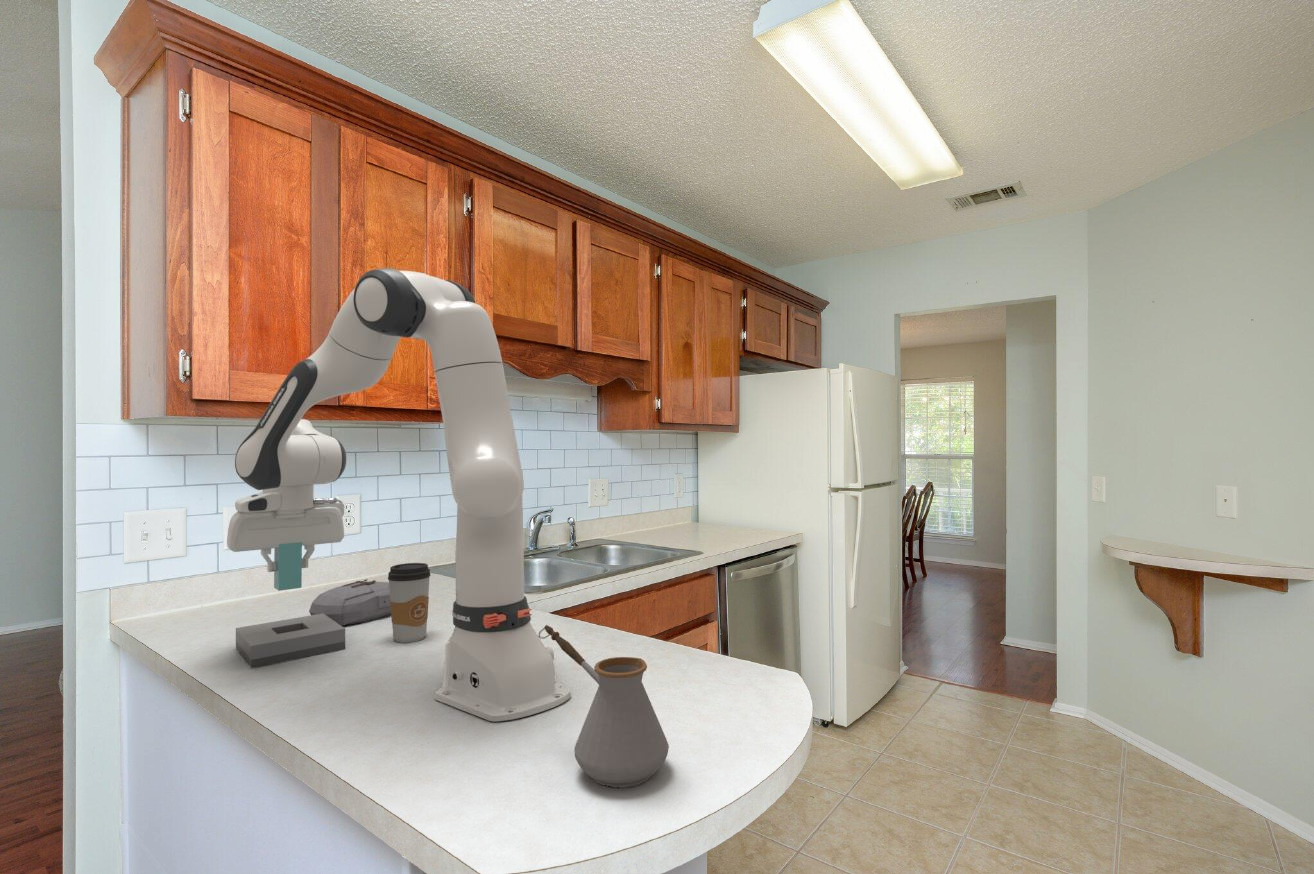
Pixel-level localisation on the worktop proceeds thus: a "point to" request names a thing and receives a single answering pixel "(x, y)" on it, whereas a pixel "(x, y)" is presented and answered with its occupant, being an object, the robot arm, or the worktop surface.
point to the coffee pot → (618, 722)
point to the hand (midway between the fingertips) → (287, 569)
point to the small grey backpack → (354, 602)
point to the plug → (288, 566)
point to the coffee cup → (409, 601)
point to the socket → (289, 639)
